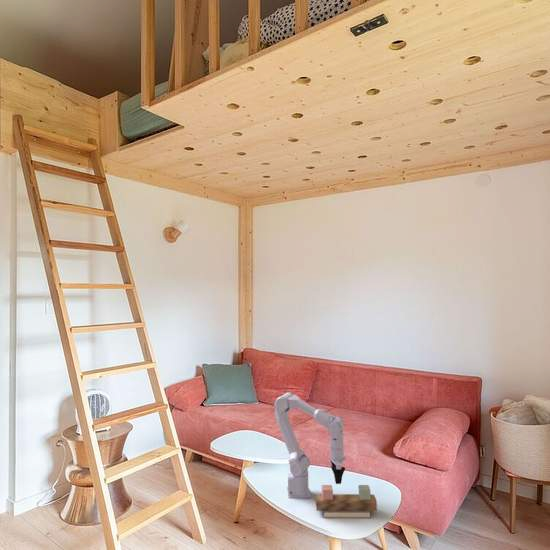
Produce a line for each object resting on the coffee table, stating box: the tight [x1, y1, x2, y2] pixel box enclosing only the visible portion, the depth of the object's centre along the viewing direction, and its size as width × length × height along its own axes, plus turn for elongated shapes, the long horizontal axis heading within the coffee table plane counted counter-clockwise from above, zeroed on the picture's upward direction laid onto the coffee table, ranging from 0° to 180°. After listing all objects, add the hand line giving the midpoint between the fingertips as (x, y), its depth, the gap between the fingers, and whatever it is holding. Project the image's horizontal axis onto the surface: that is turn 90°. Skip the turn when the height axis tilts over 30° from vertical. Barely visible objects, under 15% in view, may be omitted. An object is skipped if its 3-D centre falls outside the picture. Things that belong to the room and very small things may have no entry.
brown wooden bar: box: [315, 493, 378, 512], centre depth 163 cm, size 24×5×4 cm, turn 88°
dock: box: [322, 511, 371, 518], centre depth 163 cm, size 18×7×2 cm, turn 88°
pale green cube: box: [358, 484, 371, 500], centre depth 163 cm, size 4×4×4 cm
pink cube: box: [321, 484, 334, 500], centre depth 164 cm, size 4×4×4 cm
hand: (337, 479), depth 172 cm, fingers open, 7 cm apart
